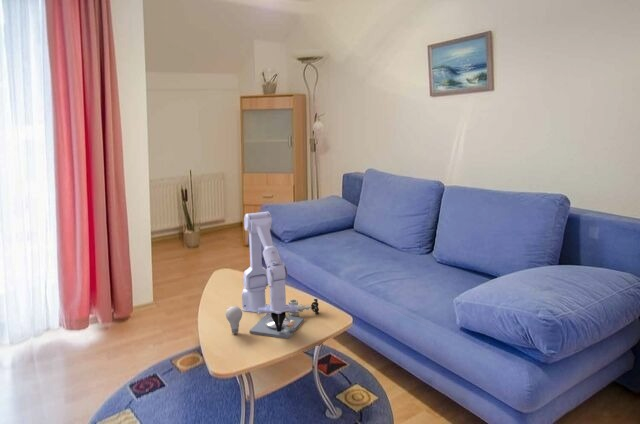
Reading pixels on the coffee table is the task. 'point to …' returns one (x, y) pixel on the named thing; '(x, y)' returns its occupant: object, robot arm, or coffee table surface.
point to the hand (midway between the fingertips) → (279, 330)
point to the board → (264, 330)
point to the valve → (304, 307)
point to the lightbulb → (234, 318)
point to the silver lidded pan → (285, 325)
